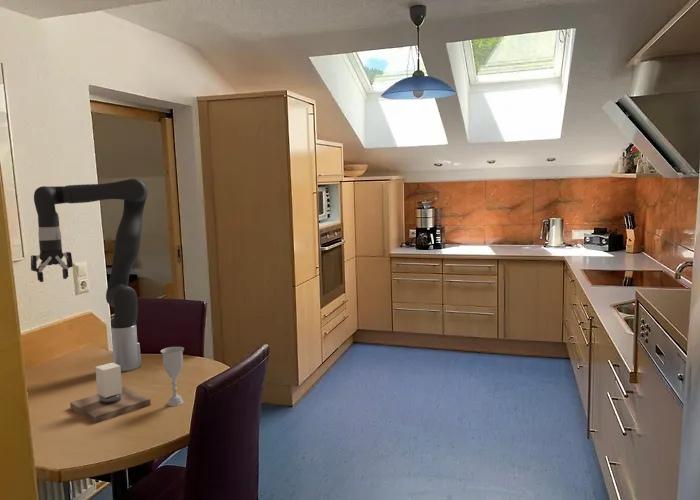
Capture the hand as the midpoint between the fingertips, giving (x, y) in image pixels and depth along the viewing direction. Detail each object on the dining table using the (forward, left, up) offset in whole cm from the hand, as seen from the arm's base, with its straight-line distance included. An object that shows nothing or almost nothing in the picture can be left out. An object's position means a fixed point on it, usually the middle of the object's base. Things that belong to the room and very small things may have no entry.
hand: (53, 280), depth 209 cm
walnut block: (+4, +52, -36) cm, 63 cm away
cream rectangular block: (+4, +52, -32) cm, 61 cm away
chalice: (-11, +66, -36) cm, 76 cm away
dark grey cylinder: (+4, +52, -34) cm, 62 cm away
